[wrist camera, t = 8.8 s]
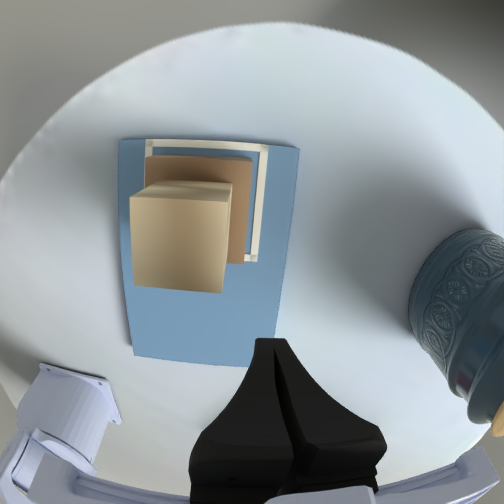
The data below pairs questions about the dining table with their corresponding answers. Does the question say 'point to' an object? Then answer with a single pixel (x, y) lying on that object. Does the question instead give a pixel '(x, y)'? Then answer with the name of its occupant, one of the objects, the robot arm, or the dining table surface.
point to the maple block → (181, 235)
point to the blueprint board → (236, 275)
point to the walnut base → (211, 171)
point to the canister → (465, 320)
